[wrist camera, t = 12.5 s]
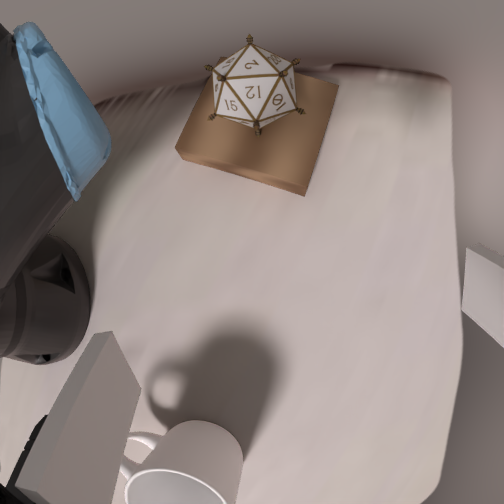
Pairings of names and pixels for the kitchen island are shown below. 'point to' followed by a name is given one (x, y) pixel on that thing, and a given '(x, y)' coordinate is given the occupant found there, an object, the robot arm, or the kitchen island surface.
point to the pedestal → (262, 138)
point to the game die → (254, 87)
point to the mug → (185, 466)
